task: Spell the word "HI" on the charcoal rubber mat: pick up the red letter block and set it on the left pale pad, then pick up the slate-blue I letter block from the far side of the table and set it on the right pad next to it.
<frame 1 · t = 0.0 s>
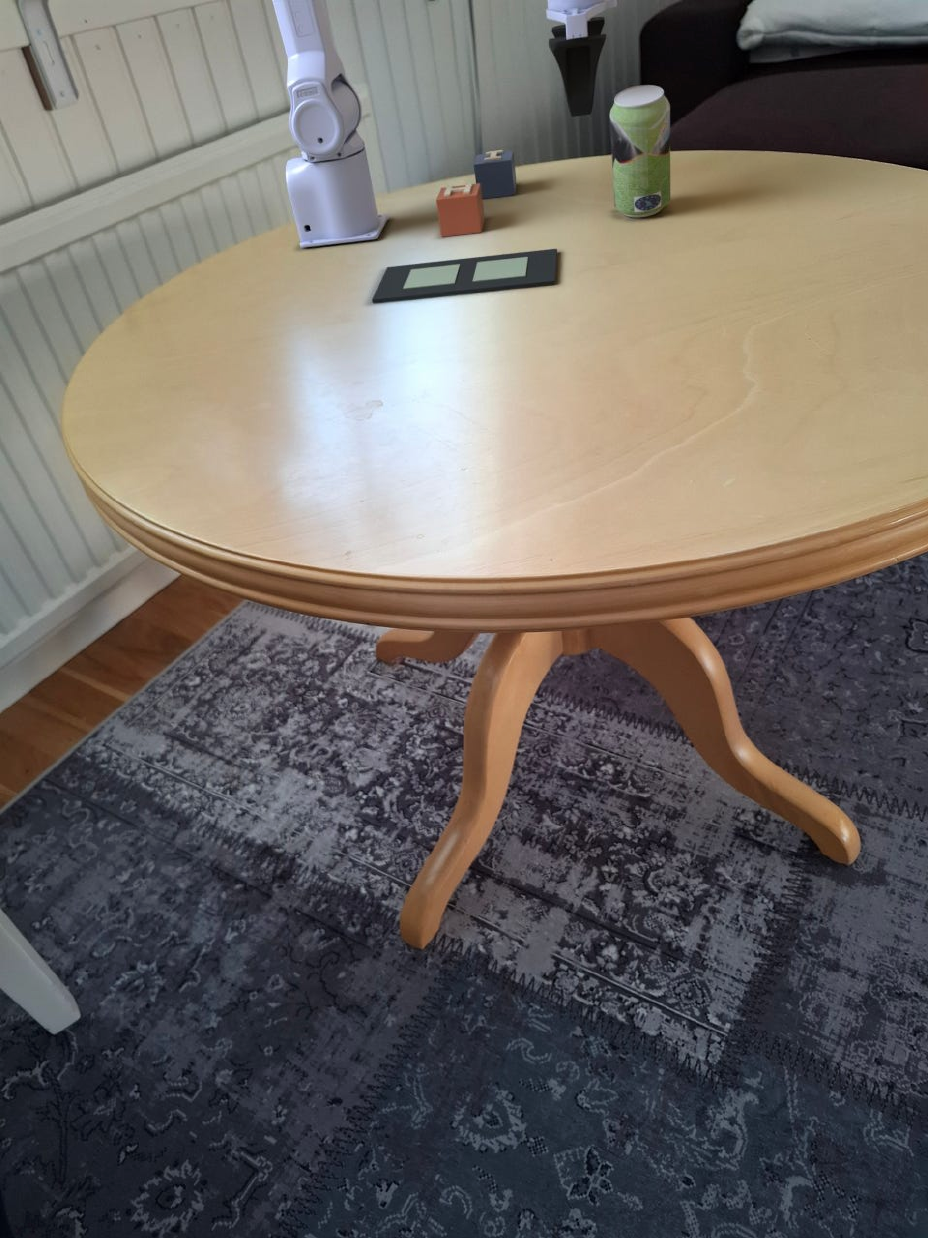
hand: (581, 106, 95), 10 cm above the table, tool pointing down, fingers open, 7 cm apart
beverage can: (641, 215, 97), on the table
word mat: (466, 277, 89), on the table
letter I: (497, 191, 111), on the table
red letter block: (463, 228, 102), on the table
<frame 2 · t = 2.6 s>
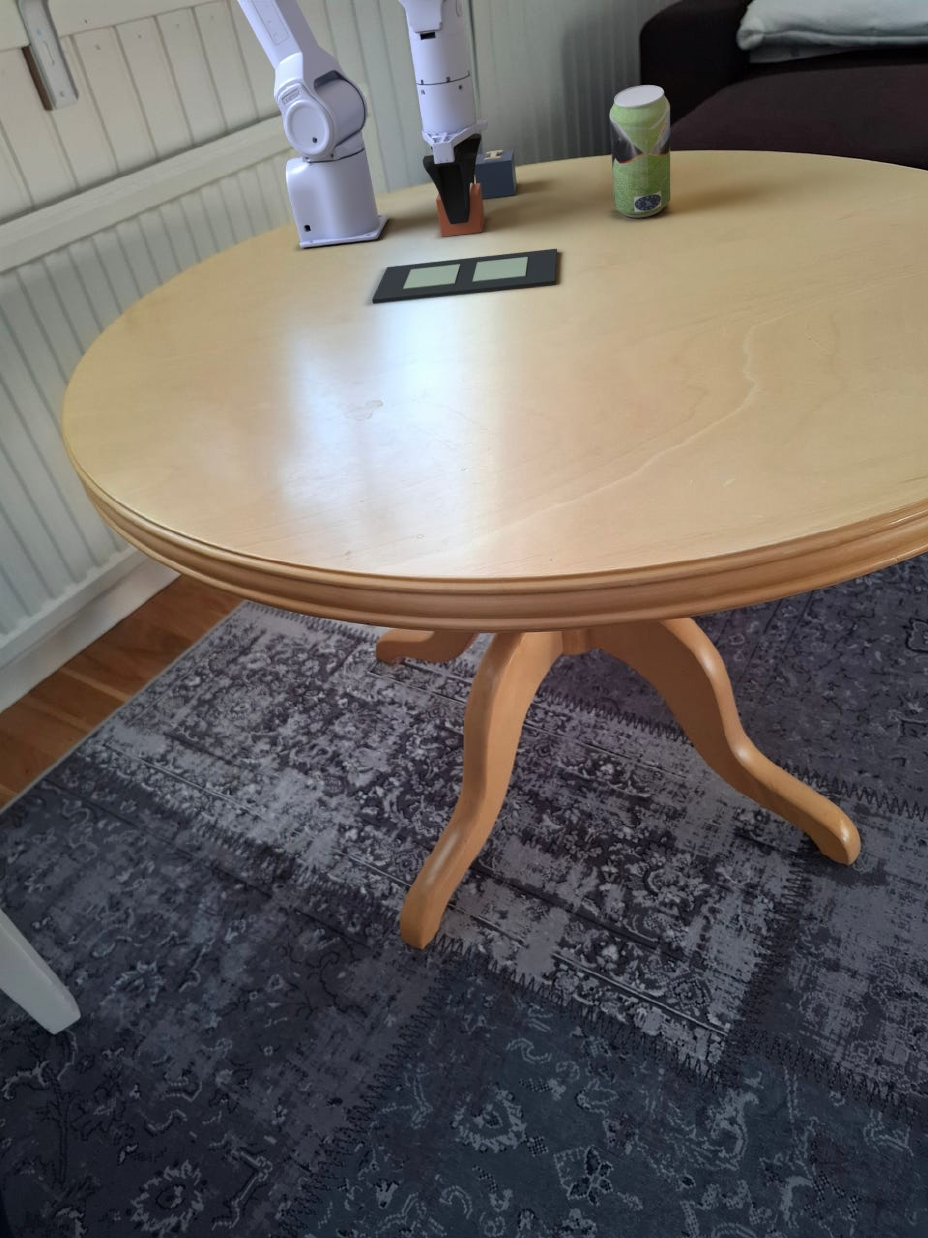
hand: (461, 215, 101), 1 cm above the table, tool pointing down, fingers closed on red letter block, 4 cm apart
red letter block: (463, 227, 102), on the table, touching gripper
everything else where it was.
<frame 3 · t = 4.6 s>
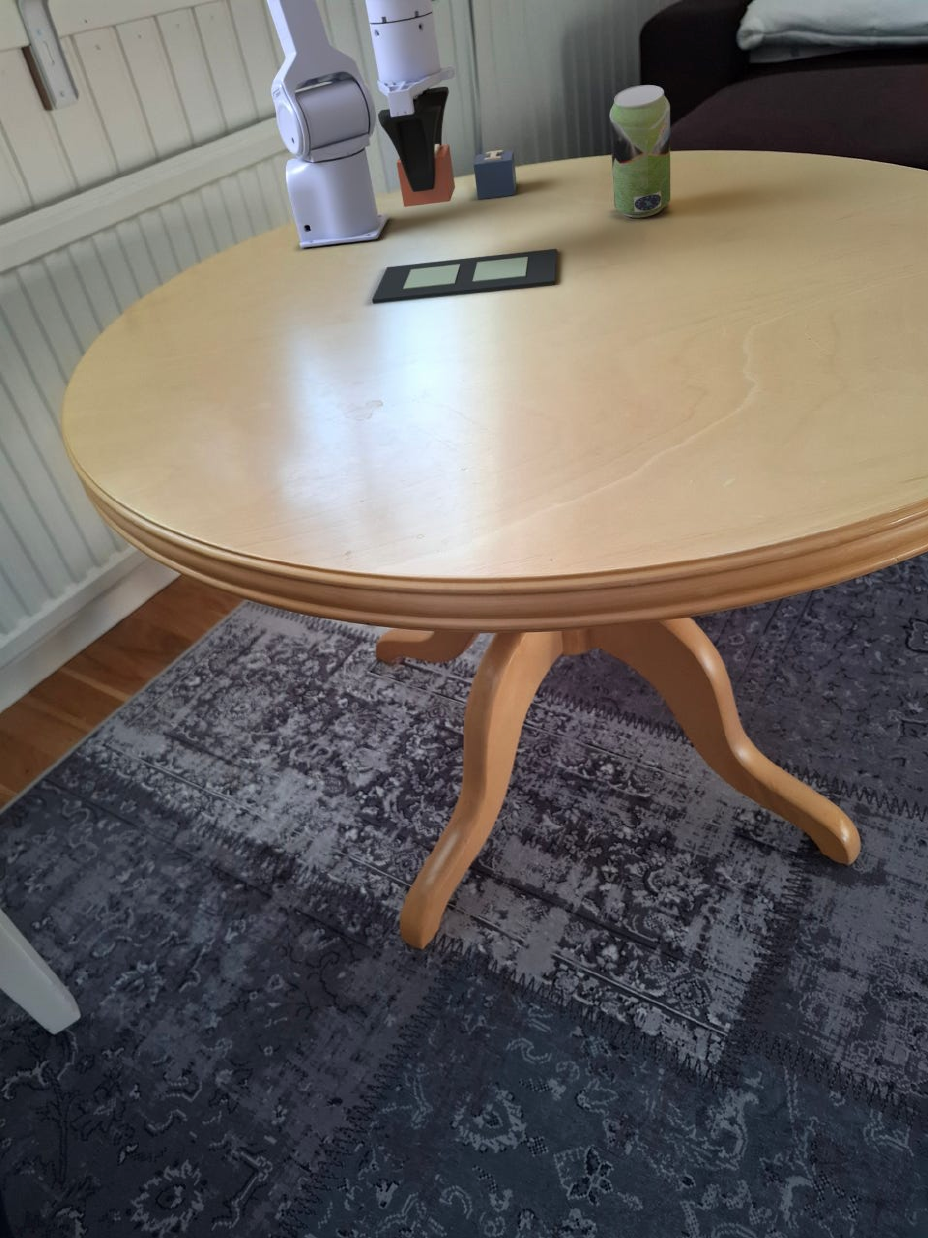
hand: (426, 182, 87), 8 cm above the table, tool pointing down, fingers closed on red letter block, 4 cm apart
red letter block: (430, 197, 88), point 7 cm above the table, touching gripper
everything else where it was.
when the fingers open (2 cm above the table, at t = 7.0 s): red letter block stays where it is, resting on word mat.
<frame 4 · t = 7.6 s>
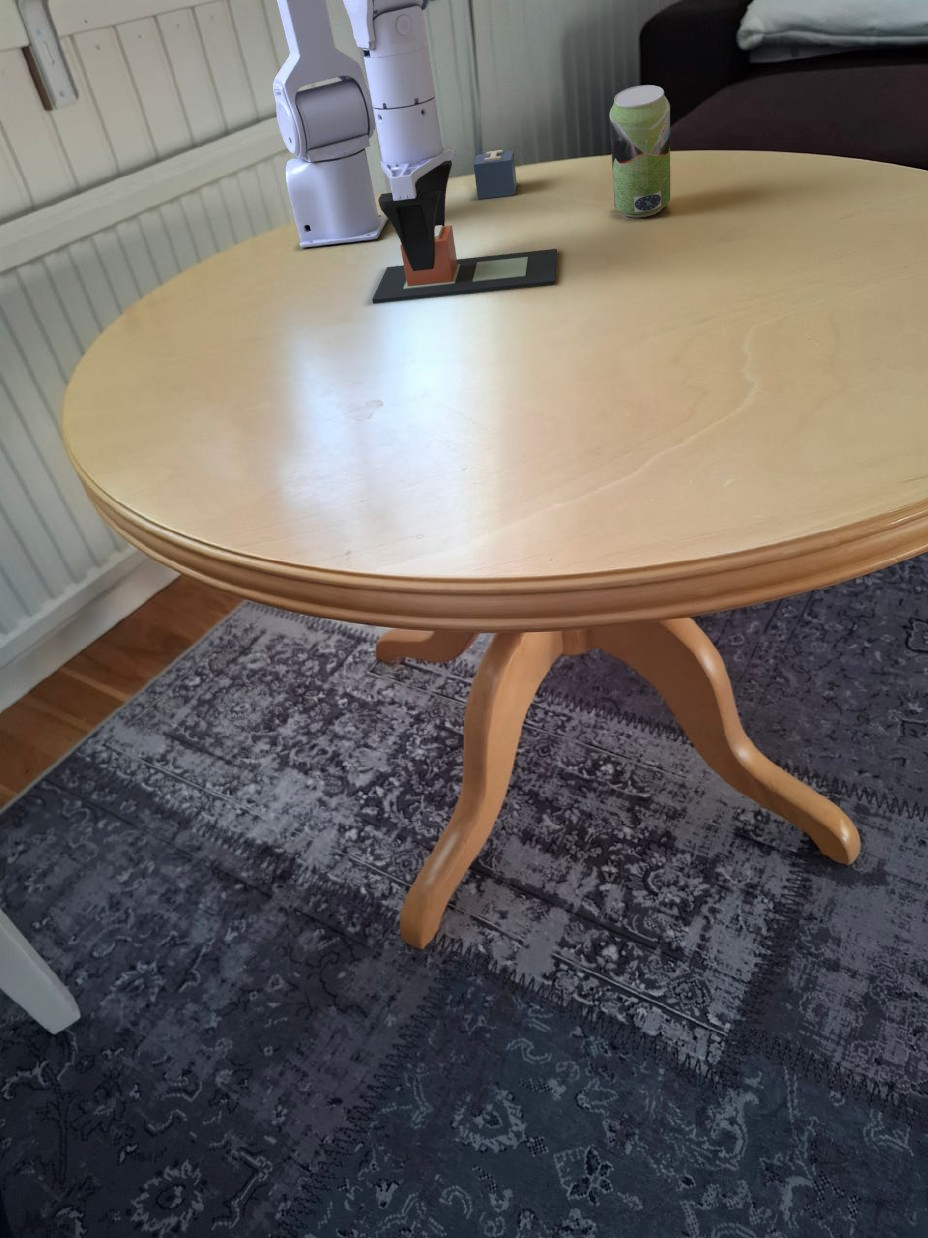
hand: (428, 255, 88), 3 cm above the table, tool pointing down, fingers open, 7 cm apart
red letter block: (433, 275, 90), resting on word mat
everything else where it was.
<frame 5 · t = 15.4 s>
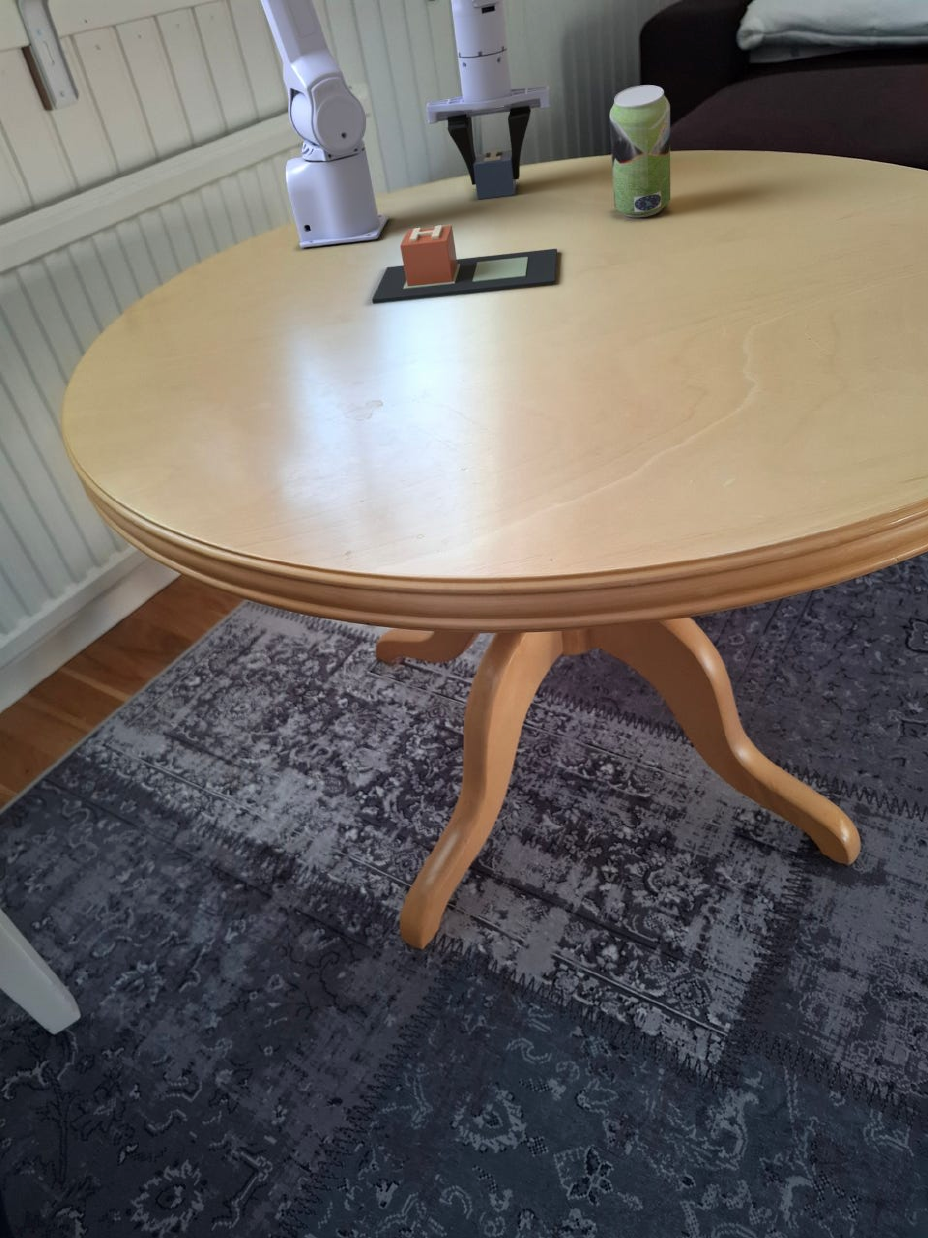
hand: (496, 179, 110), 1 cm above the table, tool pointing down, fingers closed on letter I, 4 cm apart
letter I: (497, 191, 111), on the table, touching gripper
everything else where it was.
when the fingers open (2 cm above the table, at t = 20.9 s): letter I stays where it is, resting on word mat.
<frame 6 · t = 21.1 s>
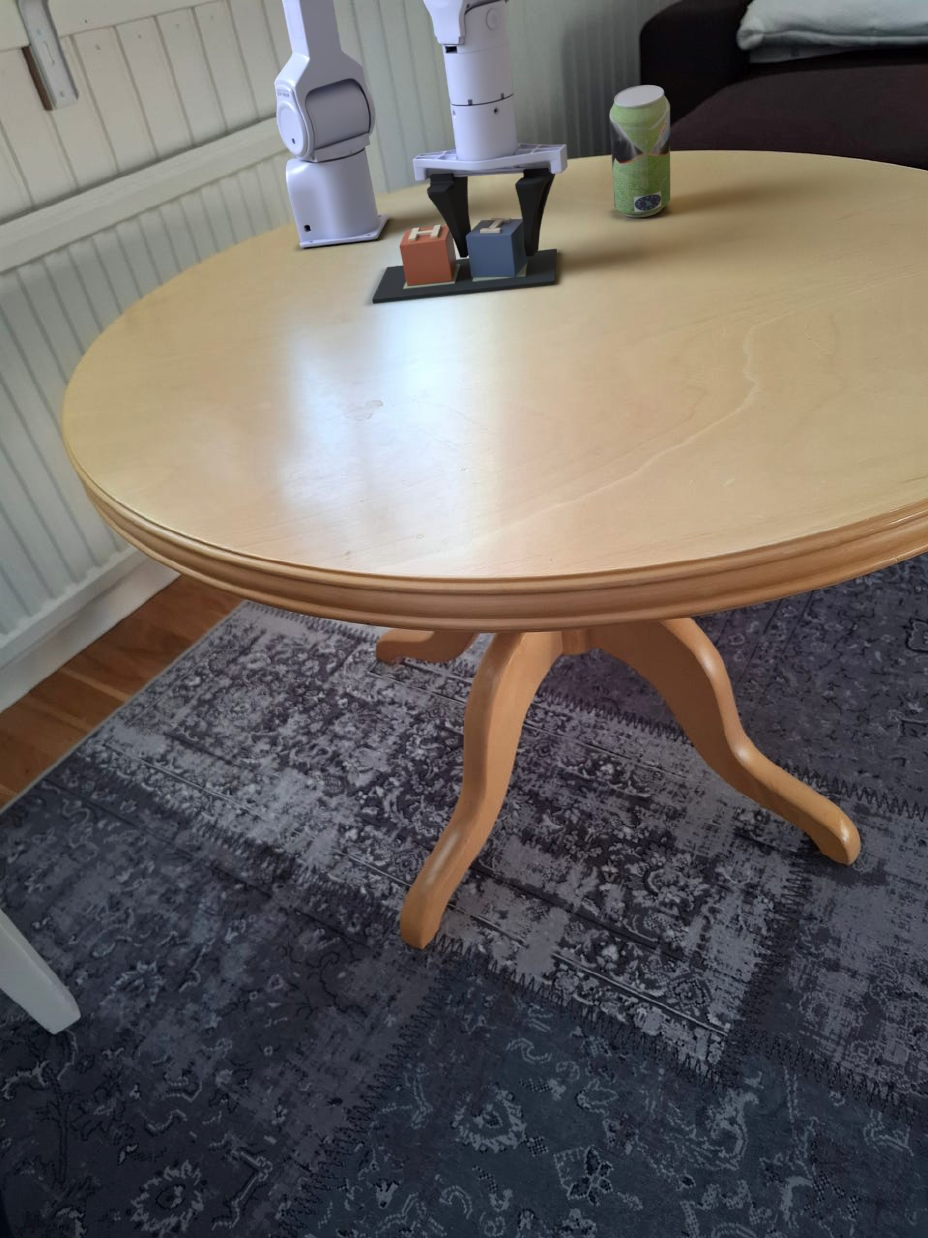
hand: (499, 253, 88), 2 cm above the table, tool pointing down, fingers open, 6 cm apart
letter I: (500, 268, 89), resting on word mat
red letter block: (432, 275, 90), point 1 cm above the table, touching gripper
everything else where it was.
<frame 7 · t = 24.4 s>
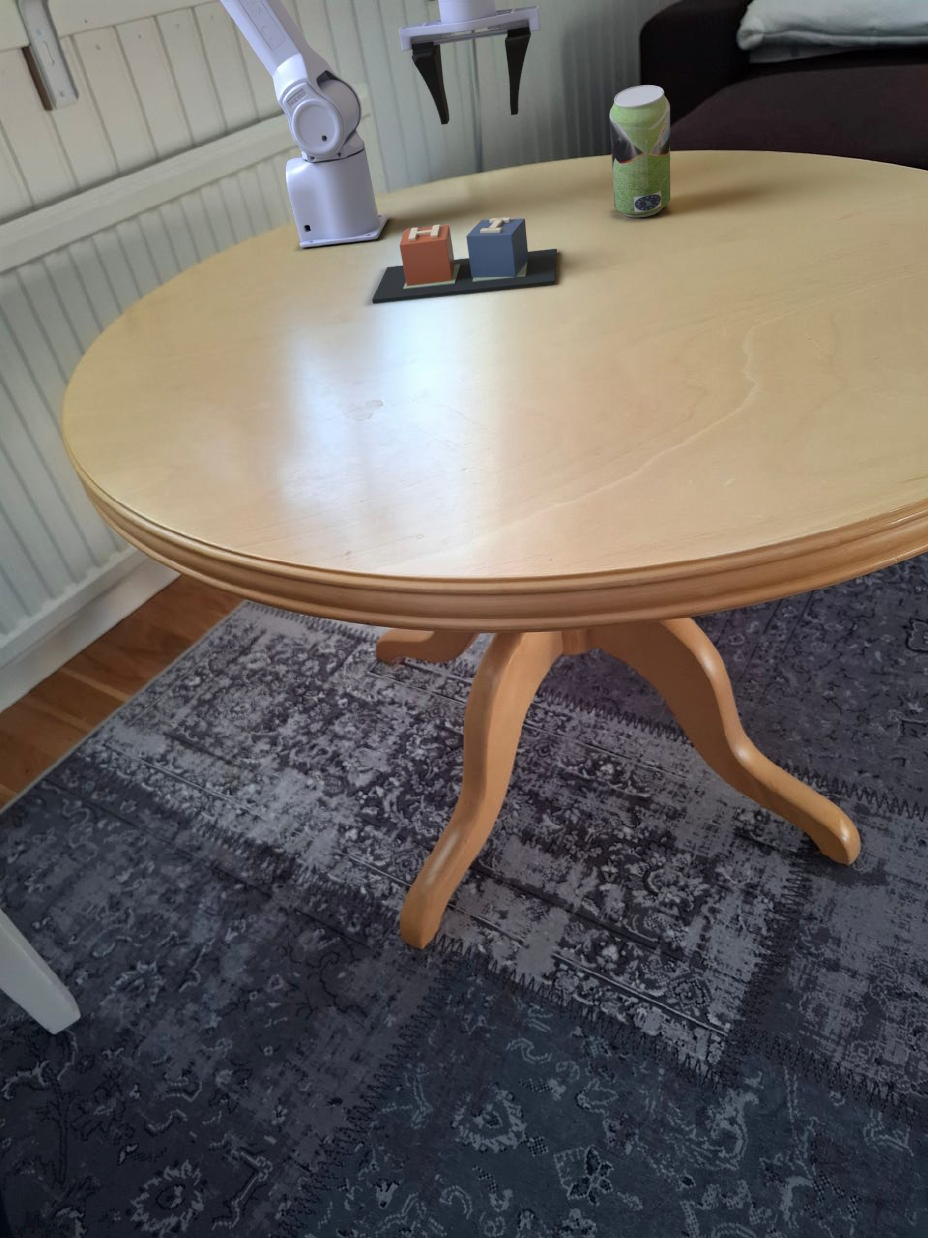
hand: (479, 117, 97), 10 cm above the table, tool pointing down, fingers open, 7 cm apart
red letter block: (431, 274, 90), resting on word mat
everything else where it was.
at the end: red letter block 0.3 cm from the target spot on the word mat, point 0.5 cm above the word mat's base; letter I 0.1 cm from the target spot on the word mat, point 0.5 cm above the word mat's base; letter I tilted 0° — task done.
